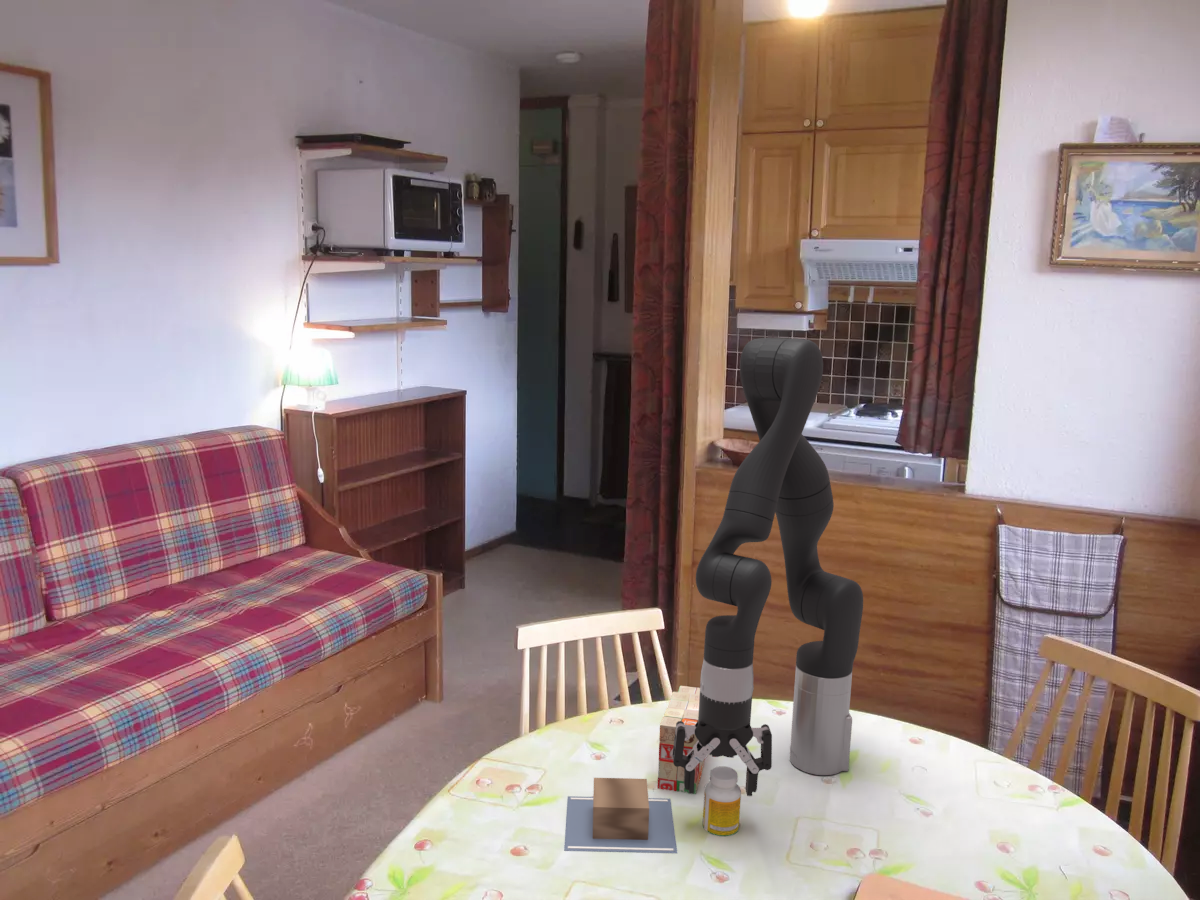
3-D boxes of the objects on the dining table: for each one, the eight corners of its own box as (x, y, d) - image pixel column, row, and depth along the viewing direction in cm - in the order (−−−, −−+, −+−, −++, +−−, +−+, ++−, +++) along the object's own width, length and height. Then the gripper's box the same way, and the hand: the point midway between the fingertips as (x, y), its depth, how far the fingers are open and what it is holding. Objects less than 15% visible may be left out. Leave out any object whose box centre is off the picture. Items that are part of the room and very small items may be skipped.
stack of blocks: (678, 732, 172) (680, 668, 170) (712, 737, 171) (716, 673, 168) (656, 795, 152) (659, 723, 149) (695, 801, 150) (699, 728, 148)
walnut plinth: (645, 808, 146) (646, 778, 145) (648, 839, 138) (649, 808, 137) (593, 807, 146) (593, 777, 145) (592, 838, 138) (593, 807, 137)
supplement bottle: (695, 826, 143) (698, 767, 141) (725, 818, 146) (728, 760, 144) (715, 846, 139) (718, 785, 137) (745, 837, 141) (749, 777, 139)
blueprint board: (670, 804, 149) (670, 797, 149) (677, 859, 135) (677, 852, 135) (567, 802, 149) (567, 795, 149) (564, 856, 135) (564, 849, 135)
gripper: (771, 680, 141) (763, 780, 144) (675, 676, 142) (669, 777, 144) (780, 702, 134) (772, 808, 137) (678, 698, 134) (672, 804, 137)
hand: (719, 792), depth 141 cm, fingers open, 8 cm apart
